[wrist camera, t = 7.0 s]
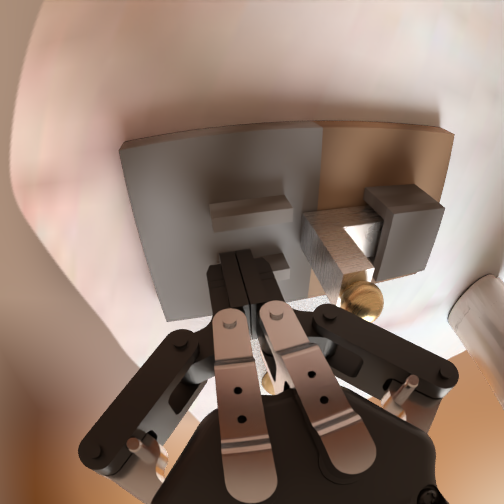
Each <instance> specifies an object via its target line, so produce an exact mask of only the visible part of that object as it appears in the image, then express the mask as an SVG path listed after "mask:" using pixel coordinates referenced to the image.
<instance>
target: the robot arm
mask: <svg viewBox="0 0 504 504" xmlns="http://www.w3.org/2000/svg"><path fill="white" fill-rule="evenodd" d="M219 261H220V264H215V265H210V266H209V268H208V270H207V273H206V275H207V281H208V288H209V294H210V300H211V307H212V313H213V316H212V320H211V322H210V323H209V324H208V325H207V326H206V327H205V328H203V329H201V330H199V331H197V332H195V333H193V332H192V331H190V330H186V329H179V330H175V331H173V332H171V333H170V334H168V335H167V336H166V338H165V339H164V340H163V341H162V343H161V344H160V345H159V346H158V347H157V349H156V350H155V351H154V352H153V353H152V355H151V356H150V357H149V358H148V360H147V361H146V362H145V363H144V364H143V366H142V367H141V368H140V369H139V371H138V372H137V373H136V374H135V375H134V377H133V378H132V379H131V380H130V381H129V383H128V384H127V385H126V386H125V388H124V389H123V390H122V391H121V393H120V394H119V395H118V396H117V397H116V399H115V400H114V401H113V402H112V404H111V405H110V406H109V407H108V409H107V410H106V411H105V412H104V413H103V415H102V416H101V417H100V419H99V420H98V421H97V422H96V423H95V425H94V426H93V427H92V428H91V430H90V431H89V432H88V433H87V435H86V436H85V437H84V438H83V440H82V441H81V443H80V445H79V448H78V454H79V458H80V460H81V462H82V463H83V464H84V465H85V466H86V467H88V468H90V469H92V470H93V471H95V472H96V473H98V474H99V475H102V476H104V477H106V478H108V479H110V480H112V481H114V482H115V483H116V484H118V485H119V486H120V487H122V488H123V489H125V490H126V491H127V492H129V493H130V494H132V495H133V496H135V497H136V498H137V499H139V500H140V501H142V502H143V503H145V504H449V503H448V502H447V501H446V499H445V498H444V497H443V496H442V494H441V493H440V492H439V490H438V488H437V485H436V480H435V459H436V452H435V447H434V444H433V442H432V440H431V438H430V437H429V436H428V434H427V433H428V431H429V429H430V426H431V424H432V422H433V420H434V417H435V415H436V412H437V410H438V407H439V404H440V402H441V400H442V398H443V397H445V395H446V394H447V393H448V392H449V391H450V390H451V389H452V388H453V387H454V386H455V385H456V384H457V382H458V378H459V374H458V370H457V368H456V367H455V366H454V364H453V363H451V362H450V361H448V360H446V359H444V358H442V357H440V356H438V355H436V354H434V353H431V352H429V351H427V350H425V349H423V348H421V347H419V346H417V345H415V344H413V343H411V342H409V341H407V340H405V339H403V338H401V337H399V336H397V335H395V334H393V333H391V332H389V331H387V330H385V329H383V328H381V327H379V326H377V325H375V324H373V323H371V322H369V321H367V320H365V319H363V318H361V317H359V316H357V315H355V314H353V313H351V312H349V311H347V310H345V309H343V308H341V307H339V306H336V305H334V304H322V305H320V306H318V307H317V308H316V309H315V310H314V312H307V311H298V310H295V309H293V308H291V306H290V305H289V304H287V303H286V302H285V300H284V298H283V296H282V293H281V291H280V288H279V286H278V283H277V281H276V279H275V276H274V273H273V271H272V269H271V266H270V264H269V263H268V262H267V261H266V260H265V259H264V258H263V257H260V258H253V255H252V252H251V250H250V248H249V249H243V250H236V251H235V253H234V251H230V252H223V253H219ZM448 323H449V325H450V326H451V327H452V329H453V330H454V332H455V333H456V335H457V336H458V337H459V339H460V340H461V342H462V343H463V345H464V346H465V348H466V349H467V351H468V352H469V354H470V355H471V357H472V358H473V360H474V361H475V363H476V364H477V366H478V368H479V369H480V371H481V372H482V374H483V375H484V377H485V379H486V380H487V382H488V384H489V385H490V387H491V389H492V390H493V392H494V394H495V395H496V397H497V399H498V401H499V403H500V404H501V406H502V408H503V410H504V282H503V281H502V280H501V279H500V278H499V277H498V278H496V277H495V276H494V275H492V274H491V275H486V276H484V277H482V278H481V279H479V280H478V281H477V282H475V283H474V284H473V285H472V286H471V287H470V288H469V289H468V290H467V291H466V292H465V293H464V294H463V295H462V296H461V297H460V299H459V300H458V301H457V303H456V304H455V306H454V307H453V309H452V311H451V313H450V315H449V318H448ZM251 336H252V339H257V338H258V340H259V344H260V353H261V356H262V359H263V361H264V364H265V366H266V369H267V372H268V374H269V377H270V379H271V382H272V384H273V387H274V392H275V395H261V392H260V387H259V381H258V375H257V370H256V364H255V359H254V358H253V353H252V348H251V342H250V340H251ZM334 375H335V376H336V377H338V378H340V379H342V380H344V381H345V382H347V383H349V384H351V385H353V386H355V387H356V388H358V389H360V390H362V391H364V392H366V393H368V394H369V395H371V396H373V397H375V398H377V399H379V400H381V404H382V407H383V408H381V407H379V406H377V405H376V404H374V403H372V402H370V401H369V400H367V399H365V398H364V397H362V396H360V395H358V394H357V393H355V392H353V391H352V390H350V389H348V388H345V387H343V386H340V385H339V383H338V381H337V379H336V378H335V376H334ZM213 376H215V382H216V394H217V405H218V408H217V409H215V410H213V411H212V412H211V413H209V414H208V415H207V416H206V417H205V418H204V419H203V420H202V421H201V423H200V424H199V426H198V427H197V429H196V431H195V432H194V434H193V435H192V437H191V439H190V440H189V442H188V444H187V446H186V447H185V448H184V450H183V452H182V453H181V455H180V456H179V458H178V460H177V461H176V463H175V464H174V466H173V468H172V469H171V471H170V472H169V474H168V476H167V477H166V478H164V470H165V467H166V465H167V463H168V454H167V452H166V450H165V448H164V447H163V445H164V444H165V442H166V441H167V439H168V438H169V437H170V435H171V434H172V432H173V431H174V429H175V428H176V427H177V425H178V424H179V422H180V421H181V419H182V418H183V416H184V415H185V414H186V412H187V411H188V409H189V408H190V406H191V405H192V403H193V402H194V401H195V399H196V398H197V396H198V395H199V393H200V392H201V390H202V389H203V387H204V386H205V384H206V383H207V380H208V379H209V378H211V377H213Z"/></svg>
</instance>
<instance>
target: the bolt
mask: <svg viewBox="0 0 504 504" xmlns="http://www.w3.org/2000/svg"><path fill="white" fill-rule="evenodd" d="M383 224H384V219H383V218H382V217H381V216H380V215H379V214H378V213H377V212H376V211H375V210H374V209H373V208H372V207H371V206H370V205H367V206H358V207H348V208H340V209H331V210H322V211H314V212H306V213H303V217H302V232H301V246H300V248H301V250H302V251H303V253H304V255H305V257H306V259H307V260H308V262H309V264H310V266H311V268H312V270H313V271H314V273H315V275H316V277H317V279H318V281H319V282H320V284H321V286H322V288H323V290H324V292H325V294H326V295H327V297H328V299H329V301H330V303H331V304H334V305H336V306H339V307H341V308H343V309H345V310H347V311H349V312H351V313H353V314H355V315H357V316H359V317H361V318H363V319H365V320H367V321H369V322H371V323H372V322H373V321H375V320H376V319H377V318H378V317H379V315H380V314H381V312H382V309H383V305H384V299H383V295H382V293H381V291H380V289H379V288H378V287H377V286H376V285H375V284H373V283H372V282H371V279H372V275H373V272H374V267H373V265H372V264H371V263H370V261H369V260H368V259H367V257H371V256H376V253H377V249H378V245H379V241H380V237H381V232H382V228H383Z"/></svg>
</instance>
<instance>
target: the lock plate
mask: <svg viewBox="0 0 504 504" xmlns="http://www.w3.org/2000/svg"><path fill="white" fill-rule="evenodd" d="M454 135H455V134H453V133H451V132H449V131H447V130H445V129H442V128H440V127H432V126H423V125H413V124H401V123H386V122H366V121H292V122H271V123H256V124H244V125H233V126H223V127H214V128H205V129H198V130H190V131H183V132H177V133H170V134H164V135H158V136H153V137H147V138H142V139H137V140H132V141H127V142H124V143H123V145H122V146H121V148H120V149H119V154H120V159H121V164H122V168H123V173H124V177H125V182H126V186H127V190H128V194H129V198H130V203H131V206H132V210H133V214H134V218H135V222H136V226H137V229H138V233H139V236H140V240H141V244H142V247H143V250H144V254H145V257H146V260H147V264H148V267H149V270H150V273H151V277H152V280H153V283H154V286H155V289H156V292H157V295H158V298H159V301H160V304H161V307H162V310H163V313H164V315H165V318H166V321H167V322H170V321H177V320H184V319H191V318H198V317H205V316H211V315H213V313H212V307H211V300H210V294H209V288H208V281H207V275H206V273H207V270H208V268H209V266H210V265H215V264H220V261H219V253H223V252H230V251H234V253H235V251H236V250H243V249H249V248H250V250H251V252H252V255H253V258H260V257H263V258H264V259H265V260H266V261H267V262H268V263H269V264H270V266H271V269H272V271H273V273H274V276H275V279H276V281H277V283H278V286H279V288H280V291H281V293H282V296H283V298H284V300H285V302H291V301H296V300H301V299H306V298H311V297H316V296H321V295H326V294H325V292H324V290H323V288H322V286H321V284H320V282H319V281H318V279H317V277H316V275H315V273H314V271H313V270H312V268H311V266H310V264H309V262H308V260H307V259H306V257H305V255H304V253H303V251H302V250H301V248H300V246H301V232H302V217H303V213H306V212H314V211H322V210H331V209H340V208H348V207H358V206H367V205H370V206H371V207H372V208H373V209H374V210H375V211H376V212H377V213H378V214H379V215H380V216H381V217H382V218H383V219H384V224H383V228H382V232H381V237H380V241H379V245H378V249H377V253H376V256H371V257H367V259H368V260H369V261H370V263H371V264H372V265H373V267H374V272H373V275H372V279H371V282H372V283H373V284H375V283H379V282H384V281H388V280H392V279H396V278H400V277H404V276H408V275H412V274H416V273H417V272H419V271H423V270H424V269H425V267H426V264H427V262H428V259H429V256H430V253H431V251H432V248H433V245H434V242H435V239H436V236H437V233H438V230H439V227H440V224H441V220H442V217H443V214H444V210H445V208H444V207H443V206H442V205H441V204H440V203H439V202H440V198H441V194H442V190H443V187H444V182H445V178H446V174H447V170H448V165H449V161H450V156H451V151H452V146H453V140H454Z"/></svg>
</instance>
